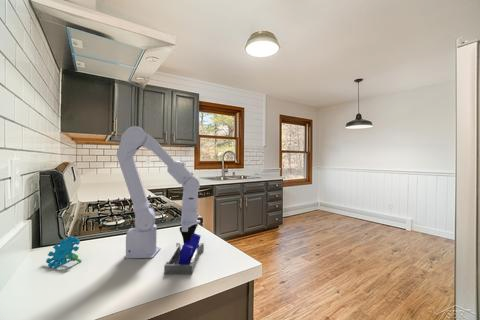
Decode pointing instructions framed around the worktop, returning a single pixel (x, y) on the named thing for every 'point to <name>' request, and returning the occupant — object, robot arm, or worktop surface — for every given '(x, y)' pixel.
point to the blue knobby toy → (64, 252)
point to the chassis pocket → (182, 268)
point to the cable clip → (189, 249)
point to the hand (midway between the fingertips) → (188, 244)
